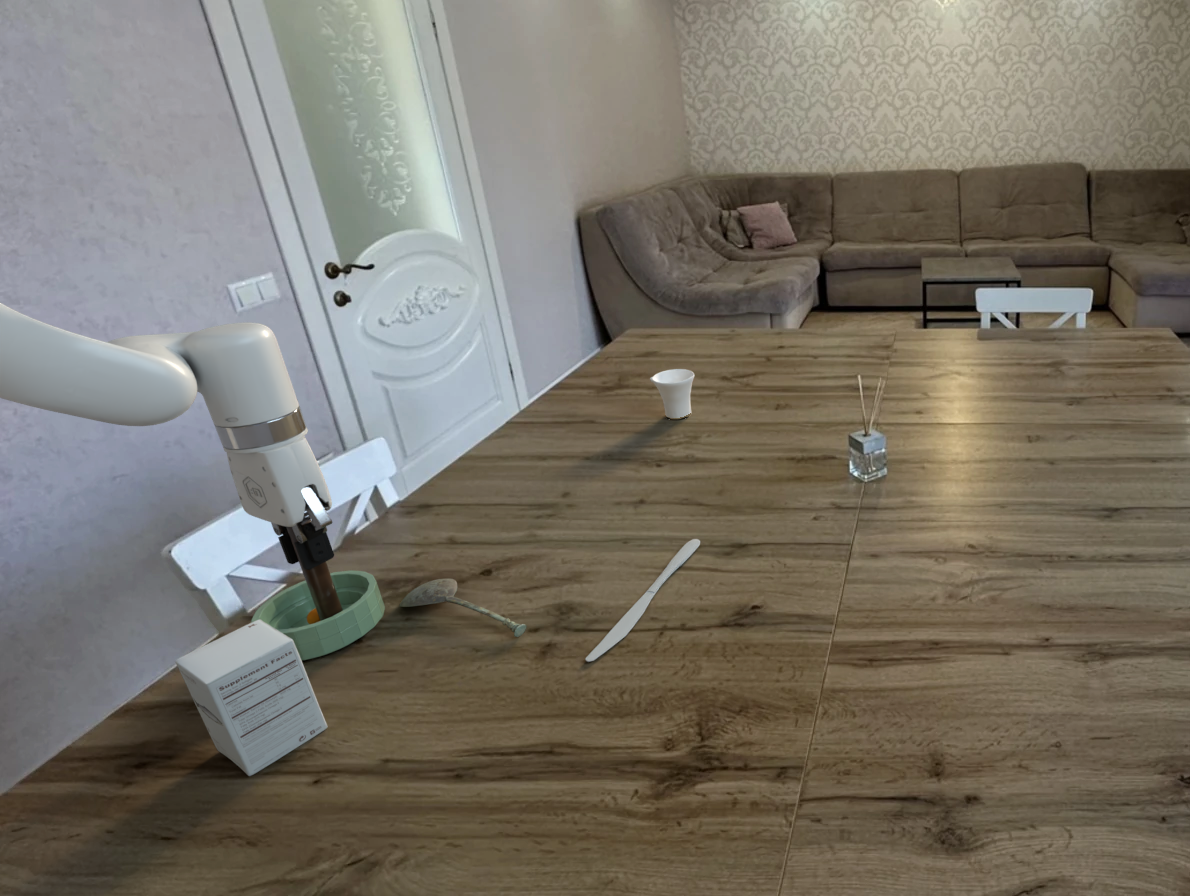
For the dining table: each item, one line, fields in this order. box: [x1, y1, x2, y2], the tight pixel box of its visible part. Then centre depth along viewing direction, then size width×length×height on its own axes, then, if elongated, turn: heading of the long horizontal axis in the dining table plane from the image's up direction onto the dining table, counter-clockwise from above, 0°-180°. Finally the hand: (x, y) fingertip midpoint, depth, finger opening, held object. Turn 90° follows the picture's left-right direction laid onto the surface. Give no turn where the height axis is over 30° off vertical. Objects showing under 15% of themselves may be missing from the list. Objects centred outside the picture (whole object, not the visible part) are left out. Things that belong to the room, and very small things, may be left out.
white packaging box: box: [174, 620, 328, 777], centre depth 76 cm, size 7×7×13 cm
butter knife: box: [585, 538, 701, 663], centre depth 101 cm, size 1×27×3 cm
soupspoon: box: [399, 578, 528, 638], centre depth 97 cm, size 22×3×7 cm
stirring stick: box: [286, 519, 343, 621], centre depth 91 cm, size 2×2×15 cm
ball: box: [307, 608, 320, 624], centre depth 94 cm, size 2×2×2 cm
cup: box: [649, 368, 695, 418], centre depth 158 cm, size 9×9×10 cm
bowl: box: [250, 569, 386, 661], centre depth 94 cm, size 13×13×5 cm
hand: (311, 559), depth 90 cm, fingers closed on stirring stick, 2 cm apart
